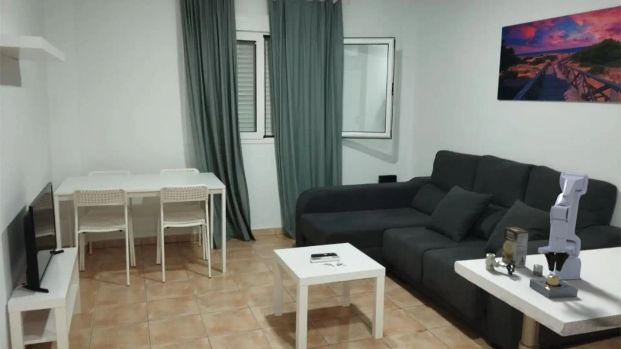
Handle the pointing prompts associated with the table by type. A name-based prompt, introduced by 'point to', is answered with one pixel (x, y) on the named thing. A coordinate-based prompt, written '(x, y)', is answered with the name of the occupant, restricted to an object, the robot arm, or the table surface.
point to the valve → (499, 264)
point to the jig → (553, 289)
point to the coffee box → (515, 246)
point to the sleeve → (538, 270)
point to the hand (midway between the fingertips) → (554, 270)
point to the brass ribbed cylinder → (553, 280)
